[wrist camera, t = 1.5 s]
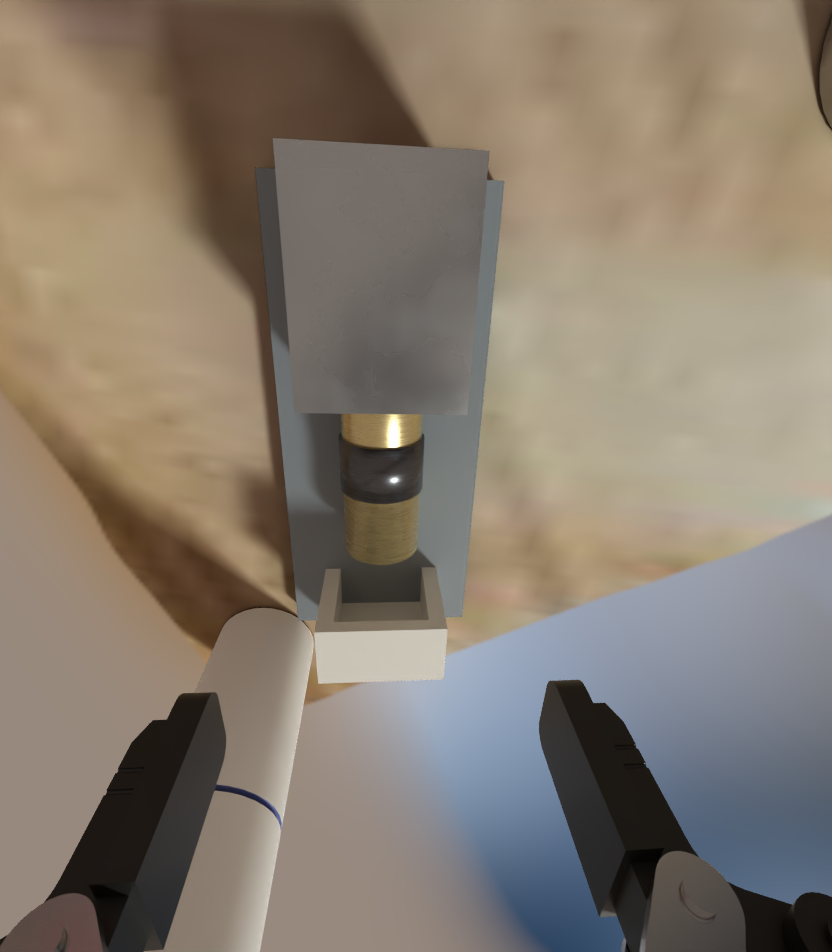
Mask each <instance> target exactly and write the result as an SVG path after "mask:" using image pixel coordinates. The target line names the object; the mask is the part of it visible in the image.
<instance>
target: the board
mask: <svg viewBox="0 0 832 952" xmlns="http://www.w3.org/2000/svg"><path fill="white" fill-rule="evenodd" d="M255 173H256V184H257V194H258V205H259V215H260V226H261V236H262V247H263V257H264V268H265V278H266V289H267V299H268V310H269V320H270V331H271V341H272V351H273V362H274V372H275V383H276V393H277V404H278V414H279V425H280V435H281V446H282V456H283V467H284V477H285V488H286V498H287V509H288V519H289V530H290V540H291V551H292V561H293V572H294V582H295V593H296V603H297V614H298V621H305V620H317V615H318V609H319V604H320V598H321V593H322V588H323V582H324V577H325V571H326V569H341V589H342V603H378V602H420V592H421V571H422V567H436V570H437V576H438V581H439V586H440V592H441V597H442V602H443V608H444V613H445V617H462V613H463V602H464V592H465V582H466V571H467V561H468V551H469V540H470V530H471V520H472V509H473V499H474V489H475V478H476V468H477V458H478V447H479V437H480V427H481V416H482V406H483V396H484V385H485V375H486V365H487V354H488V344H489V334H490V323H491V313H492V303H493V292H494V282H495V272H496V261H497V251H498V241H499V230H500V220H501V210H502V199H503V189H504V181H497V180H487V186H486V198H485V210H484V222H483V234H482V246H481V258H480V270H479V282H478V294H477V306H476V318H475V330H474V342H473V354H472V366H471V378H470V390H469V402H468V414H467V415H423V422H422V433H423V434H424V437H425V439H424V462H423V485H422V490H421V492H420V495H419V519H418V543H417V549H416V551H415V553H414V554H413V555H412V556H411V557H409V558H408V559H406V560H404V561H401V562H398V563H395V564H389V565H372V564H367V563H363V562H360V561H358V560H356V559H354V558H353V557H351V556H350V555H349V554H348V552H347V550H346V547H345V521H344V494H343V492H342V490H341V486H340V460H339V434H340V432H341V414H332V413H295V411H294V399H293V386H292V374H291V361H290V349H289V336H288V324H287V311H286V299H285V286H284V274H283V261H282V249H281V236H280V224H279V211H278V199H277V186H276V174H275V169H274V168H255Z"/></svg>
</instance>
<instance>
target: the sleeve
mask: <svg viewBox="0 0 832 952" xmlns="http://www.w3.org/2000/svg"><path fill="white" fill-rule="evenodd" d="M273 149H274V161H275V174H276V186H277V199H278V211H279V224H280V236H281V249H282V261H283V274H284V286H285V299H286V311H287V324H288V336H289V349H290V361H291V374H292V386H293V399H294V411H295V413H332V414H418V415H467V414H468V402H469V390H470V378H471V366H472V354H473V342H474V330H475V318H476V306H477V294H478V282H479V270H480V258H481V246H482V234H483V222H484V210H485V198H486V186H487V174H488V162H489V151H484V150H467V149H450V148H433V147H416V146H399V145H382V144H365V143H348V142H331V141H315V140H298V139H281V138H273Z"/></svg>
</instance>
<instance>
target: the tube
mask: <svg viewBox="0 0 832 952" xmlns="http://www.w3.org/2000/svg"><path fill="white" fill-rule="evenodd" d="M422 422H423V415H418V414H341V432H340V434H339V460H340V486H341V490H342V492H343V494H344V521H345V547H346V550H347V552H348V554H349V555H350V556H351V557H353V558H354V559H356V560H358V561H360V562H363V563H367V564H372V565H389V564H395V563H398V562H401V561H404V560H406V559H408V558H409V557H411V556H412V555H413V554H414V553H415V551H416V549H417V543H418V519H419V495H420V492H421V490H422V485H423V462H424V439H425V437H424V434H423V433H422Z"/></svg>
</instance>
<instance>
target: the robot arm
mask: <svg viewBox="0 0 832 952" xmlns="http://www.w3.org/2000/svg"><path fill="white" fill-rule="evenodd" d="M820 96H821V101H822V106H823V111H824V113H825V116H826V118H827V120H828V122H829V124H830V126H831V128H832V19H831V23H830V26H829V29H828V32H827V35H826V38H825V41H824V46H823V52H822V58H821V64H820ZM539 734H540V741H541V745H542V749H543V752H544V755H545V758H546V761H547V764H548V767H549V770H550V773H551V775H552V778H553V782H554V785H555V788H556V791H557V793H558V797H559V799H560V802H561V805H562V808H563V811H564V814H565V817H566V820H567V823H568V826H569V829H570V832H571V835H572V838H573V841H574V843H575V847H576V850H577V852H578V855H579V858H580V861H581V864H582V867H583V870H584V873H585V876H586V878H587V882H588V885H589V888H590V891H591V894H592V896H593V900H594V903H595V906H596V909H597V911H598V914H599V917H609V916H617V917H618V920H619V922H620V925H621V928H622V930H623V933H624V940H623V944H622V950H621V952H832V897H830V896H828V895H824V894H821V893H814V892H810V893H805V894H803V895H801V896H800V897H799V898H798V899H797V900H796V901H795V903H794V904H793V905H791V904H788V903H785V902H782V901H779V900H776V899H772V898H769V897H766V896H763V895H760V894H757V893H753V892H750V891H747V890H744V889H742V888H739V887H737V886H735V885H733V884H731V883H729V882H727V881H726V880H725V878H724V877H723V876H722V875H721V874H720V873H719V872H718V871H717V870H716V869H715V868H714V867H712V866H711V865H710V864H709V863H707V862H706V861H704V860H703V859H701V858H700V857H699V856H698V855H697V854H696V852H695V851H694V850H693V849H692V847H691V845H690V844H689V842H688V840H687V839H686V837H685V835H684V833H683V831H682V829H681V827H680V826H679V824H678V822H677V820H676V818H675V816H674V814H673V813H672V811H671V809H670V807H669V805H668V803H667V801H666V800H665V798H664V796H663V794H662V792H661V790H660V788H659V787H658V785H657V783H656V781H655V779H654V777H653V776H652V774H651V772H650V770H649V768H647V767H646V763H645V761H644V759H643V757H642V755H641V753H640V751H639V750H638V749H637V748H636V744H635V742H634V741H633V738H632V737H631V735H630V733H629V731H628V729H627V727H626V725H625V724H624V722H623V721H622V720H621V719H620V718H619V717H618V716H617V715H616V714H615V713H614V712H613V711H612V710H611V709H610V708H609V707H608V706H607V705H606V703H593V702H592V700H591V697H590V696H589V694H588V692H587V690H586V687H585V686H584V684H583V683H582V682H581V681H580V680H562V681H549V682H548V684H547V688H546V693H545V698H544V702H543V707H542V712H541V717H540V722H539ZM225 751H226V732H225V727H224V722H223V718H222V713H221V708H220V703H219V699H218V695H217V693H215V692H208V693H183V694H181V695H180V696H179V697H178V699H177V700H176V702H175V704H174V706H173V708H172V710H171V712H170V714H169V717H168V719H167V720H153V721H152V722H151V723H150V724H149V725H148V726H147V727H146V728H145V729H144V730H143V731H142V732H141V733H140V735H139V736H138V737H137V738H136V739H135V740H134V741H133V742H132V743H131V745H130V747H129V749H128V751H127V753H126V754H125V756H124V758H123V760H122V762H121V764H120V766H119V768H118V772H117V773H116V774H115V775H114V777H113V779H112V781H111V783H110V785H109V787H108V789H107V793H106V795H105V796H103V798H102V800H101V802H100V804H99V806H98V808H97V810H96V811H95V813H94V815H93V817H92V819H91V821H90V823H89V825H88V827H87V829H86V830H85V833H84V834H83V836H82V838H81V840H80V842H79V844H78V846H77V847H76V849H75V851H74V853H73V855H72V857H71V859H70V861H69V863H68V865H67V866H66V868H65V870H64V872H63V874H62V876H61V878H60V880H59V881H58V883H57V885H56V887H55V888H54V890H53V891H52V893H51V894H50V895H49V897H48V898H47V899H46V901H45V902H44V903H43V904H41V905H39V906H38V907H37V908H35V909H34V910H33V911H31V912H30V913H29V914H28V915H27V916H25V917H24V918H23V919H22V920H21V921H20V922H19V923H18V924H17V925H16V926H15V927H14V929H12V931H11V932H10V933H9V934H8V935H7V936H5V937H4V938H2V939H0V952H144V951H155V950H164V947H165V944H166V940H167V937H168V934H169V931H170V928H171V925H172V922H173V919H174V915H175V912H176V909H177V906H178V903H179V900H180V897H181V893H182V890H183V887H184V884H185V881H186V878H187V875H188V872H189V868H190V865H191V862H192V859H193V856H194V853H195V850H196V846H197V843H198V840H199V837H200V834H201V831H202V828H203V825H204V821H205V818H206V815H207V812H208V809H209V806H210V803H211V799H212V796H213V793H214V790H215V787H216V784H217V781H218V778H219V774H220V771H221V768H222V765H223V761H224V757H225Z"/></svg>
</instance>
